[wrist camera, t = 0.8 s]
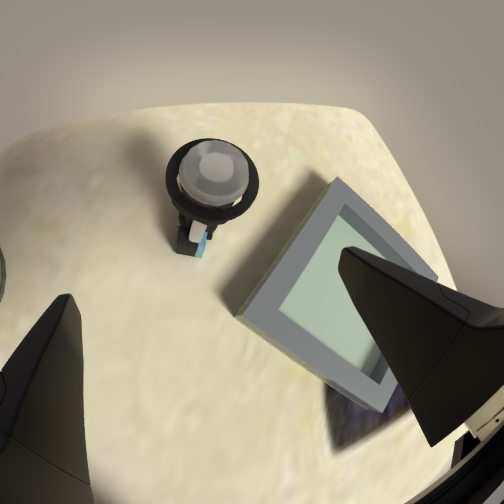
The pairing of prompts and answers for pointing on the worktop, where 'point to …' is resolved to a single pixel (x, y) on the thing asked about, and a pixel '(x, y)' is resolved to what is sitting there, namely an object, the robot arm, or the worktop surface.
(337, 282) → the dock
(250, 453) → the worktop surface
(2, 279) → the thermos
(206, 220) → the push button
